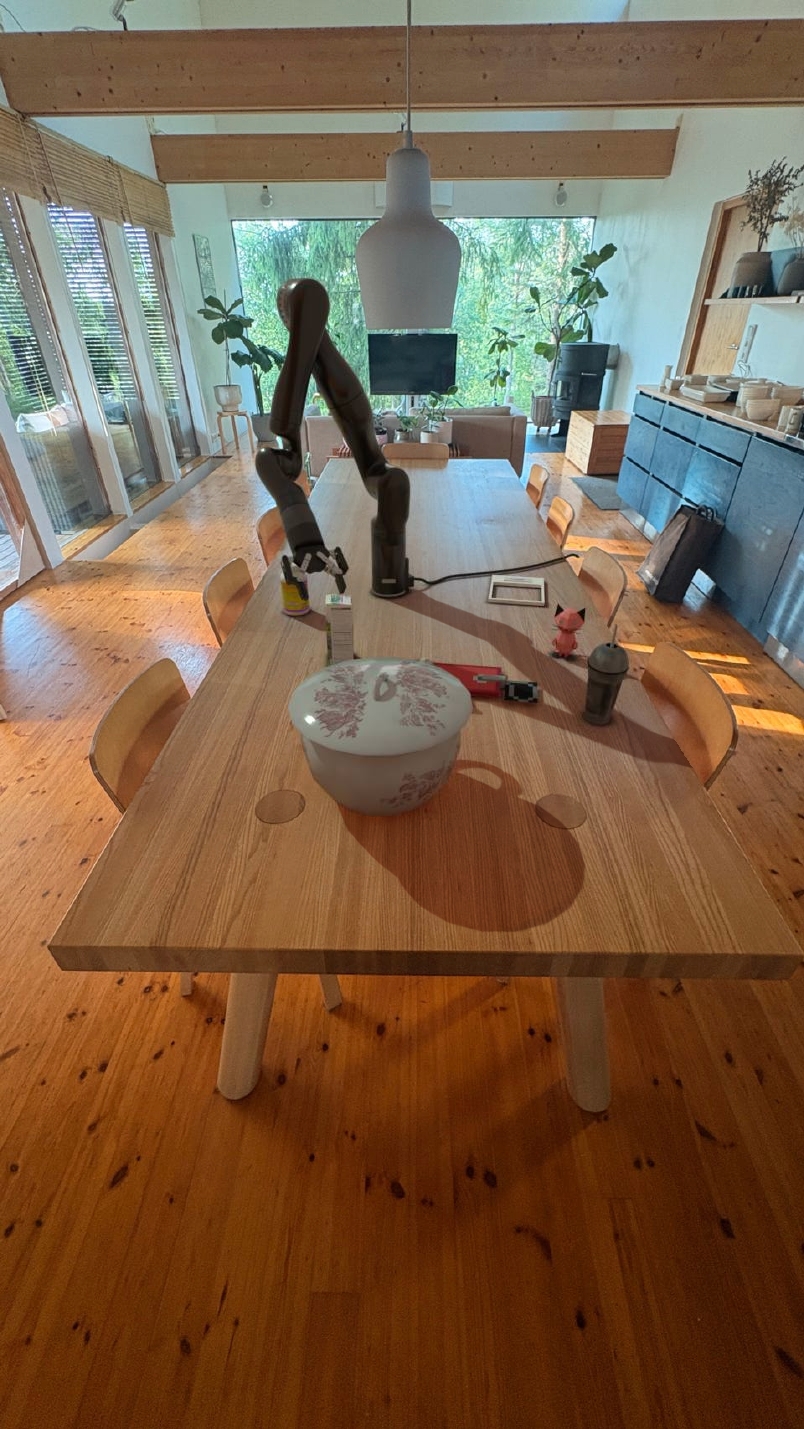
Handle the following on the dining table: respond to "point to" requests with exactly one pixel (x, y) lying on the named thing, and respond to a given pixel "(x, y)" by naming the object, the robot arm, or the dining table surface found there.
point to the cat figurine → (567, 630)
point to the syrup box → (339, 628)
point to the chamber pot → (381, 731)
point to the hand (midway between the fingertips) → (325, 596)
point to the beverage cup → (604, 680)
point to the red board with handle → (491, 682)
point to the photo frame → (521, 583)
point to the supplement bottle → (293, 595)
